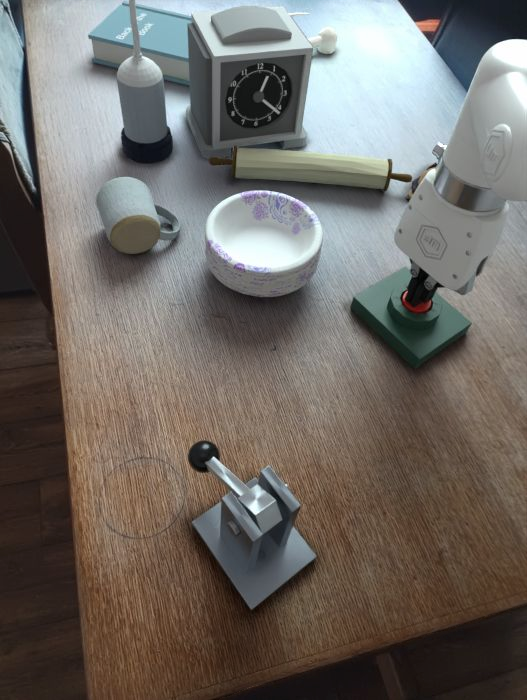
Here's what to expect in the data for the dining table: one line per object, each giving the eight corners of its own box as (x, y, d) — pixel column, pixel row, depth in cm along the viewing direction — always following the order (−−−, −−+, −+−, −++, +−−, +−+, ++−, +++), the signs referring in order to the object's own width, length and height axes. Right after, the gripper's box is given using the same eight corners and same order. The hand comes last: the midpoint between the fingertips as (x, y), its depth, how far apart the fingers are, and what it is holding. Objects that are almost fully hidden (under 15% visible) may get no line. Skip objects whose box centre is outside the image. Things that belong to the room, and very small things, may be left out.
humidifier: (172, 133, 92) (160, -37, 72) (173, 163, 88) (161, -9, 67) (123, 133, 91) (97, -39, 71) (121, 164, 86) (93, -11, 66)
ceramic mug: (113, 263, 74) (105, 220, 68) (100, 223, 78) (91, 179, 72) (188, 247, 77) (186, 204, 71) (171, 210, 81) (169, 166, 75)
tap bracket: (191, 525, 55) (186, 481, 45) (254, 480, 58) (263, 431, 48) (250, 612, 51) (259, 584, 41) (315, 559, 54) (337, 522, 44)
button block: (465, 333, 72) (477, 314, 69) (414, 369, 68) (424, 351, 65) (401, 277, 77) (409, 256, 74) (349, 307, 73) (356, 287, 70)
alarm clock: (203, 159, 89) (201, 43, 74) (184, 114, 96) (179, 0, 81) (308, 145, 93) (326, 33, 78) (282, 102, 100) (294, -8, 85)
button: (432, 311, 70) (437, 302, 69) (413, 323, 69) (417, 315, 67) (412, 293, 72) (416, 285, 70) (393, 305, 70) (397, 296, 69)
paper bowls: (195, 303, 71) (193, 260, 65) (216, 225, 80) (217, 180, 74) (309, 321, 71) (319, 280, 64) (319, 241, 80) (328, 197, 73)
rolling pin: (405, 180, 90) (414, 154, 86) (409, 202, 86) (419, 176, 82) (210, 162, 88) (210, 135, 84) (207, 184, 85) (206, 157, 81)
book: (92, 62, 103) (88, 34, 99) (129, 25, 112) (126, -2, 108) (205, 89, 101) (204, 62, 97) (233, 49, 110) (233, 23, 106)
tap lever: (188, 469, 55) (178, 446, 54) (214, 452, 56) (204, 429, 55) (258, 542, 45) (248, 515, 44) (288, 519, 46) (279, 493, 45)
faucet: (328, 75, 116) (349, 26, 109) (264, 65, 105) (283, 9, 99) (317, 66, 118) (337, 17, 111) (253, 55, 107) (271, 0, 100)
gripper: (394, 152, 56) (355, 274, 71) (510, 238, 49) (440, 352, 64) (442, 130, 59) (395, 252, 74) (557, 209, 52) (480, 324, 67)
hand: (416, 298), depth 69 cm, fingers closed
